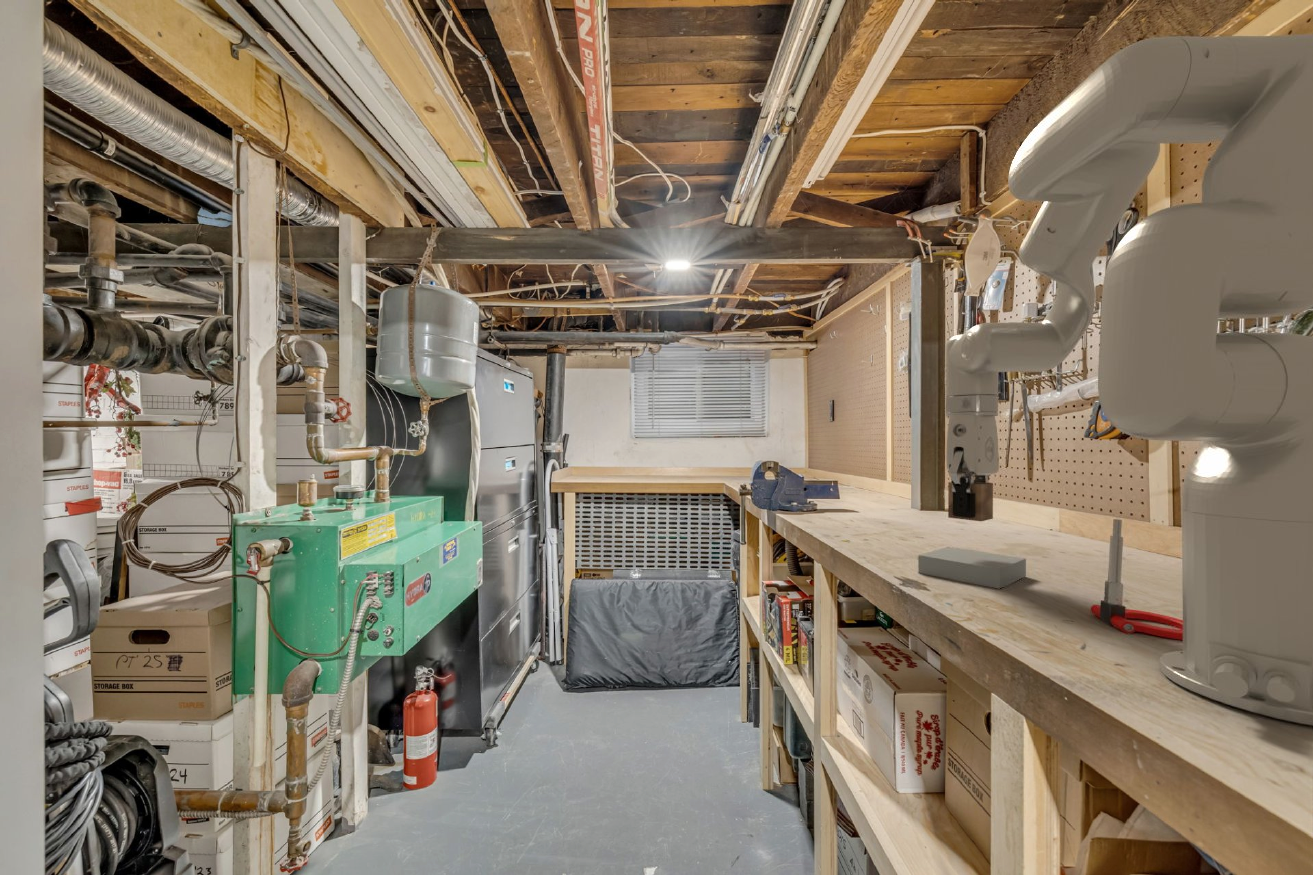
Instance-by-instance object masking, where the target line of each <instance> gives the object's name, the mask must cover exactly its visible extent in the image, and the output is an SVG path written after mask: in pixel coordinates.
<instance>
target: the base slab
mask: <svg viewBox="0 0 1313 875" xmlns="http://www.w3.org/2000/svg"><path fill="white" fill-rule="evenodd" d="M917 556H918V559H917V560H918V562H917V563H918V569H917V570H918V571H917V572H918V574H922V575H927V576H932V577H938V578H943V579H947V580H953V581H957V582H963V583H968V584H973V585H979V586H982V587H983V586H984V587H988V588H992V587H993V588H994V589H1000V588H1001V589H1003V588H1005V587H1007V586H1008V585H1012V584H1013V583H1016V582H1018V581H1019V579H1020V580H1022V579H1024V578H1026V577H1027V558H1024V557H1017V556H1011V555H1004V554H999V553H992V552H984V551H978V550H973V549H972V550H971V549H967V548H966V549H965V548H958V547H951V546H947V547H946V546H945V547H942V548H940V549H936V550H931V551H929V552H925V553H921V554H919V555H918V554H917ZM1025 576H1026V577H1025ZM1021 578H1022V579H1021ZM1017 580H1018V581H1017ZM1015 581H1016V582H1015ZM1012 582H1013V583H1012ZM1002 587H1003V588H1002ZM993 588H992V589H993Z"/></svg>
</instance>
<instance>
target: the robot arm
mask: <svg viewBox="0 0 1313 875" xmlns="http://www.w3.org/2000/svg"><path fill="white" fill-rule="evenodd" d="M1216 142H1220V143H1219V145H1218V146H1217V148H1215V151H1214V152H1213V153H1212V155H1211V157H1210V158H1209V161H1208V163H1207V165H1206V167H1205V170H1204V173H1203V176H1202V181H1201V202H1192V203H1183V204H1177V205H1176V204H1175V205H1171V206H1169V207H1166V208H1162V209H1160V210H1157V211H1155V212H1153V213H1151V214H1149V215H1147V216H1146V217H1144V218H1143V219H1141V220H1140V221H1139V222H1137V223H1136V224H1135V225H1134V226H1133V227H1132V228H1130V229H1129V230H1128V232H1126V234H1125V235H1124V236H1123V237H1122V239H1121V240H1120V242H1118V244H1117V246H1116V248H1115V249H1114V250H1113V253H1112V255H1111V257H1110V259H1109V261H1108V263H1107V264H1108V265H1107V267H1106V268H1105V273H1104V277H1103V278H1104V279H1103V282H1102V283H1103V284H1102V293H1101V294H1102V295H1101V309H1100V310H1101V313H1100V329H1099V332H1100V333H1099V346H1098V347H1099V349H1098V350H1099V351H1098V352H1099V353H1098V365H1097V367H1098V369H1097V371H1098V372H1097V391H1098V398H1099V404H1100V407H1101V409H1102V412H1103V414H1104V416H1105V417H1106V419H1107V421H1108V422H1109V423H1110V424H1111V425H1113V427H1115V429H1117V430H1118V431H1120V432H1122V433H1124V434H1125V435H1128V436H1130V437H1134V438H1137V439H1143V440H1151V441H1152V440H1153V441H1168V442H1169V441H1170V442H1179V441H1180V442H1182V441H1183V442H1202V444H1201V445H1200V447H1199V449H1198V451H1197V453H1196V455H1195V456H1194V457H1193V459H1192V461H1191V463H1190V464H1189V467H1188V469H1187V470H1186V474H1185V476H1184V480H1183V485H1182V492H1181V508H1182V509H1181V544H1182V545H1181V548H1182V549H1181V552H1182V553H1181V554H1182V555H1181V556H1182V558H1181V560H1182V562H1181V563H1182V566H1181V567H1182V569H1181V570H1182V574H1181V577H1182V579H1181V580H1182V581H1181V582H1182V586H1181V587H1182V592H1181V594H1182V620H1183V640H1182V650H1175V651H1169V652H1165V653H1163V654H1161V655H1160V657H1159V669H1160V671H1161V673H1162V674H1163V675H1165V676H1166V677H1167V678H1168V679H1169V680H1171V681H1172V682H1174V683H1175V684H1177V685H1179V686H1181V687H1182V688H1185V689H1186V690H1189V691H1191V692H1192V693H1195V694H1198V695H1201V696H1203V697H1205V698H1208V699H1211V700H1213V701H1217V702H1219V703H1221V704H1225V705H1228V706H1231V707H1233V708H1237V709H1241V710H1244V711H1246V712H1251V713H1254V714H1259V715H1261V716H1266V717H1269V718H1273V719H1278V720H1282V721H1285V722H1286V721H1287V722H1292V723H1296V724H1302V725H1307V726H1312V727H1313V336H1310V335H1305V334H1298V333H1297V334H1296V333H1285V332H1234V331H1233V332H1218V325H1219V319H1225V320H1226V319H1227V320H1228V319H1229V320H1231V319H1233V320H1234V319H1236V320H1237V319H1262V318H1265V319H1266V318H1275V317H1284V316H1290V315H1293V314H1297V313H1301V312H1304V311H1306V310H1309V309H1311V308H1313V33H1306V34H1305V33H1302V34H1286V35H1284V34H1283V35H1261V36H1260V35H1253V36H1250V35H1230V36H1229V35H1228V36H1227V35H1225V36H1223V35H1222V36H1187V35H1186V36H1183V35H1182V36H1180V35H1179V36H1178V35H1177V36H1176V35H1175V36H1174V35H1171V36H1159V37H1158V36H1157V37H1155V36H1154V37H1150V38H1145V39H1141V40H1139V41H1136V42H1134V43H1132V44H1129V45H1127V46H1124V48H1123V47H1122V49H1120V50H1118V51H1117V52H1115V53H1114V54H1113V55H1112V56H1110V57H1109V58H1108V59H1106V61H1104V62H1103V63H1102V64H1100V66H1098V67H1097V68H1096V69H1095V70H1094V71H1093V72H1092V73H1090V75H1088V76H1087V77H1086V78H1085V80H1083V81H1082V82H1081V83H1080V84H1079V85H1078V86H1077V87H1075V88H1074V89H1073V91H1071V93H1069V94H1068V95H1067V96H1066V97H1065V98H1064V99H1062V100H1061V101H1060V102H1059V103H1058V104H1057V105H1056V106H1055V107H1054V108H1053V109H1052V110H1051V111H1050V112H1048V113H1047V115H1046V116H1044V118H1043V119H1042V120H1041V121H1040V122H1039V123H1038V124H1037V125H1036V126H1035V128H1033V129H1032V131H1030V133H1029V134H1028V135H1027V137H1026V138H1025V140H1024V141H1023V142H1022V143H1021V146H1019V148H1018V150H1017V152H1016V154H1015V155H1014V159H1012V162H1011V165H1010V167H1009V172H1008V178H1007V179H1008V181H1007V184H1008V189H1009V193H1010V194H1011V196H1012V197H1014V198H1016V199H1017V200H1019V201H1023V202H1037V203H1038V202H1042V204H1041V207H1040V209H1039V211H1038V213H1037V215H1035V216H1036V217H1035V218H1034V220H1033V223H1032V224H1031V226H1030V228H1029V229H1028V231H1027V233H1026V236H1025V237H1024V239H1023V241H1022V242H1021V245H1020V247H1019V250H1018V257H1019V259H1020V261H1021V262H1022V263H1023V264H1024V265H1025V266H1026V267H1027V268H1029V269H1030V270H1031V271H1034V272H1035V273H1037V274H1039V275H1041V276H1043V277H1046V278H1048V279H1050V280H1052V281H1055V282H1056V285H1057V292H1056V296H1055V300H1054V301H1053V304H1052V305H1051V307H1050V309H1049V311H1048V312H1047V313H1046V316H1045V317H1044V319H1043V320H1042V321H1041V322H1027V321H1026V322H1022V321H1021V322H1019V321H1018V322H1014V321H1013V322H984V323H983V322H982V323H979V324H976V325H974V326H972V327H971V328H969V329H968V330H967V331H965V333H961V334H958V335H957V334H956V335H954V336H952V337H951V338H949V339H948V341H947V343H946V346H945V348H946V349H945V350H946V351H945V352H946V353H945V356H946V357H945V417H946V418H947V417H948V426H947V435H946V436H947V437H946V456H945V457H946V469H947V472H948V476H949V478H950V480H951V481H950V482H952V492H953V515H954V516H958V517H967V518H974V517H975V493H972V492H973V484H974V482H985V483H990V482H989V481H990V480H991V478H990V475H995V474H997V473H998V472H999V470H1000V459H999V457H1000V456H999V439H998V427H997V421H996V417H997V416H999V373H1007V372H1008V373H1010V372H1011V373H1043V372H1048V371H1049V370H1052V369H1055V368H1056V367H1058V366H1059V365H1061V364H1062V363H1064V361H1065V360H1066V359H1067V358H1068V356H1070V354H1072V352H1073V351H1074V349H1075V348H1076V346H1077V345H1078V343H1079V341H1081V339H1082V337H1083V336H1084V335H1085V333H1086V331H1087V330H1088V328H1089V326H1090V325H1091V322H1092V319H1093V317H1094V316H1093V315H1094V312H1095V305H1096V304H1095V302H1096V291H1095V290H1096V287H1095V283H1094V280H1093V277H1092V273H1091V268H1092V265H1093V264H1094V261H1095V260H1096V258H1097V256H1098V255H1099V254H1100V252H1101V251H1102V249H1103V248H1104V247H1105V244H1106V243H1107V241H1108V239H1109V238H1110V236H1111V234H1112V233H1113V231H1115V229H1116V227H1117V226H1118V224H1119V222H1120V220H1122V217H1123V216H1124V214H1125V213H1126V211H1127V210H1128V208H1129V206H1130V205H1131V204H1132V202H1133V200H1134V198H1135V197H1136V196H1137V195H1138V192H1139V190H1140V189H1141V188H1142V186H1143V185H1144V183H1145V182H1146V180H1147V179H1148V177H1149V175H1150V173H1151V172H1152V170H1153V169H1154V167H1155V165H1156V163H1157V161H1158V158H1159V155H1160V153H1161V144H1165V145H1167V144H1203V143H1216ZM966 481H967V482H966Z"/></svg>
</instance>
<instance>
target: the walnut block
mask: <svg viewBox="0 0 1313 875" xmlns="http://www.w3.org/2000/svg"><path fill="white" fill-rule="evenodd" d="M967 481H968V480H966V482H967ZM947 490H948V492H947V493H948V498H947V499H948V501H947V503H948V507H947V508H948V509H947V511H948V512H947V513H948V515H947V516H948V518H949V519H959V520H966V521H975V522H985V521H990V520H993V519H994V482H989V483H985V482H974V484H973V492H972V493H975V517H974V518H967V517H958V516H954V515H953V492H952V482H951V481H949V482H948V489H947Z"/></svg>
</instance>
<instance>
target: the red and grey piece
mask: <svg viewBox="0 0 1313 875" xmlns="http://www.w3.org/2000/svg"><path fill="white" fill-rule="evenodd" d="M1122 526H1123V520H1122V519H1118V518H1114V519H1113V522H1112V535H1110V537H1109V552H1108V554H1109V555H1108V569H1107V571H1108V572H1107V580H1105V582H1104V595H1103V600H1101V599H1100V604H1093V605H1091V607H1090V609H1089V610H1090V612H1091V614H1093V615H1094V616H1096V617H1097V618H1099V619H1100V620H1101V621H1103V622H1104V621H1105V622H1104V623H1107V624H1108V625H1109V626H1112V627H1113V626H1115V627H1114V628H1116V629H1119V630H1120V631H1122V632H1123V633H1125V634H1128V633H1130V635H1132V634H1134V633H1135V632H1139V633H1144V634H1148V635H1152V636H1157V637H1162V638H1167V639H1174V640H1178V641H1179V640H1180V641H1183V619H1180V618H1177V617H1176V618H1175V617H1173V616H1168V615H1164V614H1160V613H1154V612H1150V611H1144V610H1137V609H1129V608H1127V607H1126V606H1125V605H1123V598H1124V597H1123V596H1124V584H1123V583H1122V566H1123V565H1122V564H1123V550H1124V549H1123V547H1124V537H1123V536H1122ZM1131 619H1133V620H1131ZM1134 619H1136V620H1137V621H1136V620H1134ZM1138 620H1143V621H1150V622H1154V621H1155V622H1154V623H1160V624H1163V623H1165V624H1164V625H1167V624H1168V625H1167V626H1170V625H1171V627H1174V626H1175V627H1174V628H1167V627H1161V626H1157V625H1152V624H1148V623H1144V622H1141V621H1138ZM1175 628H1177V629H1175ZM1179 628H1180V629H1179Z"/></svg>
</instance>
